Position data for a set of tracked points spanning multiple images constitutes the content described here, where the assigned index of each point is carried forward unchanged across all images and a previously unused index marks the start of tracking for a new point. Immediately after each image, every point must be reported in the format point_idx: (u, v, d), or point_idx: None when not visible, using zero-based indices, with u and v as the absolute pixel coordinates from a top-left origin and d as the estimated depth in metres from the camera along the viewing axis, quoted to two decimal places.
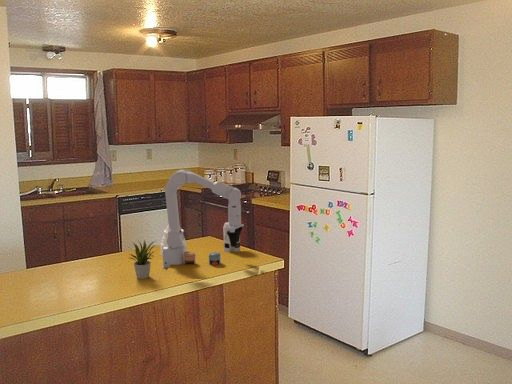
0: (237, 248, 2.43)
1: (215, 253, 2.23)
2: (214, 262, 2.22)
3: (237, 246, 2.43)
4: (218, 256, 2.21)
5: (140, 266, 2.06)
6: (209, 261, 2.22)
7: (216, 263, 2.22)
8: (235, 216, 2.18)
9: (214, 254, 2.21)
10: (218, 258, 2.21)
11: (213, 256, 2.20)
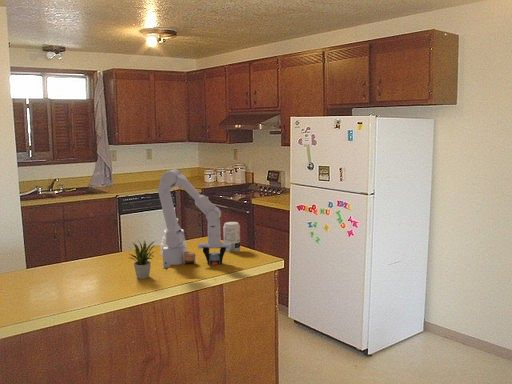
0: (237, 248, 2.43)
1: (215, 253, 2.23)
2: (214, 262, 2.22)
3: (237, 246, 2.43)
4: (218, 256, 2.21)
5: (140, 266, 2.06)
6: (209, 261, 2.22)
7: (216, 263, 2.22)
8: (208, 235, 2.20)
9: (214, 254, 2.21)
10: (218, 258, 2.21)
11: (213, 256, 2.20)
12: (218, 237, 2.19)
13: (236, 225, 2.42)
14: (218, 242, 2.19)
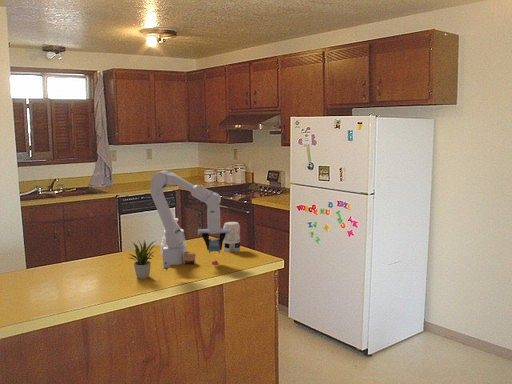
0: (237, 248, 2.43)
1: (215, 239, 2.22)
2: (214, 262, 2.22)
3: (237, 246, 2.43)
4: (218, 242, 2.20)
5: (140, 266, 2.06)
6: (209, 247, 2.21)
7: (216, 263, 2.22)
8: (207, 220, 2.19)
9: (214, 240, 2.20)
10: (218, 244, 2.20)
11: (213, 242, 2.19)
12: (218, 222, 2.18)
13: (236, 225, 2.42)
14: (218, 227, 2.18)
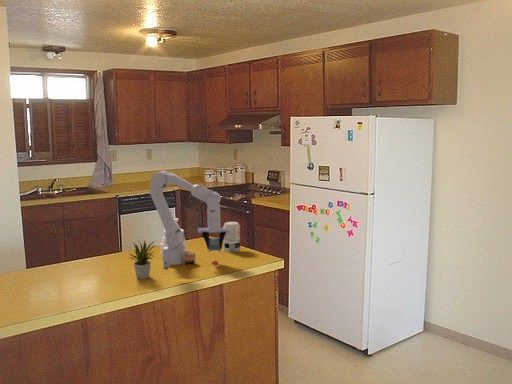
0: (237, 248, 2.43)
1: (215, 238, 2.22)
2: (214, 262, 2.22)
3: (237, 246, 2.43)
4: (218, 241, 2.20)
5: (140, 266, 2.06)
6: (209, 246, 2.21)
7: (216, 263, 2.22)
8: None
9: (214, 239, 2.21)
10: (218, 243, 2.20)
11: (213, 241, 2.19)
12: (218, 221, 2.18)
13: (236, 225, 2.42)
14: (218, 227, 2.19)
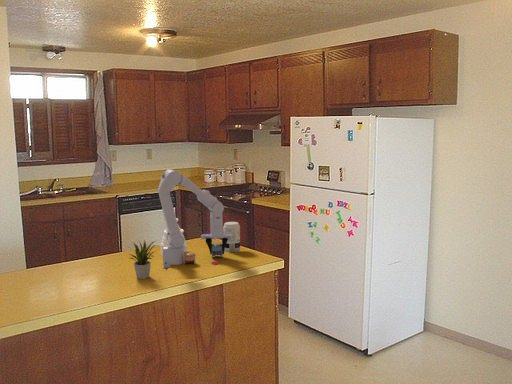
0: (237, 248, 2.43)
1: (217, 244, 2.32)
2: (214, 262, 2.22)
3: (237, 246, 2.43)
4: (220, 247, 2.30)
5: (140, 266, 2.06)
6: (212, 251, 2.31)
7: (216, 263, 2.22)
8: (210, 226, 2.30)
9: (216, 245, 2.31)
10: (220, 249, 2.30)
11: (216, 247, 2.29)
12: (220, 228, 2.29)
13: (236, 225, 2.42)
14: (220, 233, 2.29)
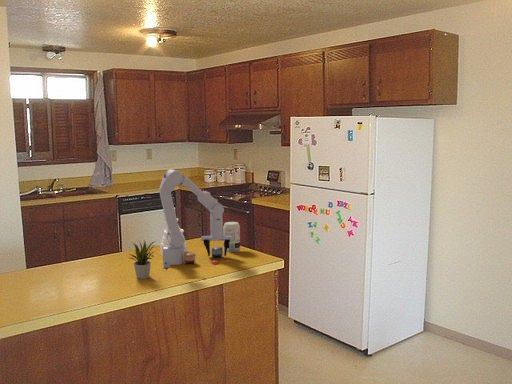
0: (237, 248, 2.43)
1: (217, 247, 2.33)
2: (214, 262, 2.22)
3: (237, 246, 2.43)
4: (220, 250, 2.30)
5: (140, 266, 2.06)
6: (212, 255, 2.32)
7: (216, 263, 2.22)
8: None
9: (216, 248, 2.31)
10: (220, 252, 2.31)
11: (216, 250, 2.30)
12: (220, 230, 2.29)
13: (236, 225, 2.42)
14: (220, 235, 2.29)
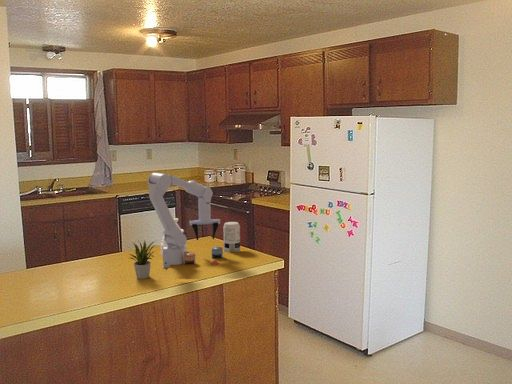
0: (237, 248, 2.43)
1: (217, 247, 2.33)
2: (214, 262, 2.22)
3: (237, 246, 2.43)
4: (220, 250, 2.30)
5: (140, 266, 2.06)
6: (212, 255, 2.32)
7: (216, 263, 2.22)
8: (199, 212, 2.32)
9: (216, 248, 2.31)
10: (220, 252, 2.31)
11: (216, 250, 2.30)
12: (209, 213, 2.32)
13: (236, 225, 2.42)
14: (209, 218, 2.33)
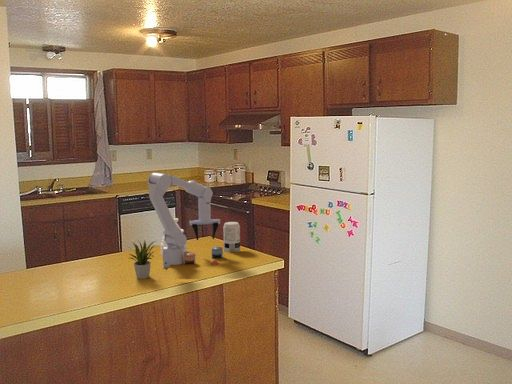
0: (237, 248, 2.43)
1: (217, 247, 2.33)
2: (214, 262, 2.22)
3: (237, 246, 2.43)
4: (220, 250, 2.30)
5: (140, 266, 2.06)
6: (212, 255, 2.32)
7: (216, 263, 2.22)
8: (199, 212, 2.32)
9: (216, 248, 2.31)
10: (220, 252, 2.31)
11: (216, 250, 2.30)
12: (209, 213, 2.32)
13: (236, 225, 2.42)
14: (209, 218, 2.33)
